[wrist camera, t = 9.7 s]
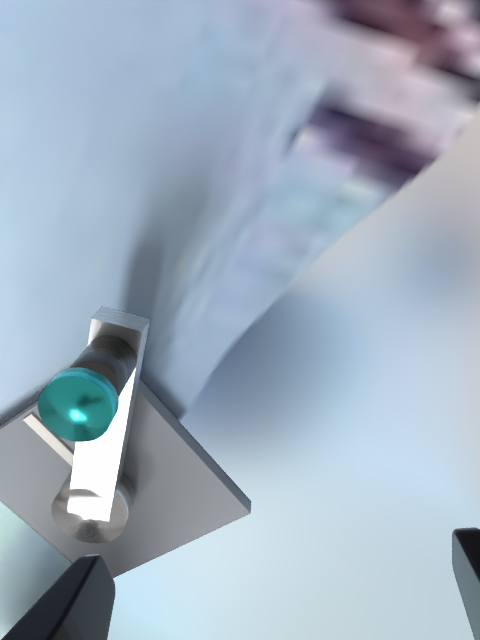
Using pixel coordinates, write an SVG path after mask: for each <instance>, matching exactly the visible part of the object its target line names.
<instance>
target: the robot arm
mask: <svg viewBox="0 0 480 640" xmlns="http://www.w3.org/2000/svg"><path fill="white" fill-rule="evenodd" d="M452 564H453V570H454V574H455V578H456V581H457V584H458V587H459V590H460V594H461V597H462V600H463V603H464V606H465V610H466V613H467V616H468V619H469V623H470V626H471V629H472V632H473V636H474V639H475V640H480V529H478V528H460V529H455V530H454V531H453V534H452ZM114 598H115V584H114V580H113V578H112V576H111V573H110V571H109V569H108V567H107V564H106V562H105V560H104V558H103V557H102V556H101V555H86V556H81V557H79V558H78V559H77V560H76V561H75V562H74V563H73V564H72V565H71V566H70V567H69V568H68V569H67V570H66V571H65V572H64V573H63V575H62V576H61V577H60V578H59V579H58V580H57V581H56V582H55V583H54V584H53V585H52V586H51V587H50V588H49V589H48V590H47V592H46V593H45V594H44V595H43V596H42V597H41V598H40V599H39V600H38V601H37V602H36V603H35V604H34V605H33V606H32V607H31V609H30V610H29V611H28V612H27V613H26V614H25V615H24V616H23V617H22V618H21V619H20V620H19V621H18V622H17V623H16V624H15V626H14V627H13V628H12V629H11V630H10V631H9V632H8V633H7V634H6V635H5V636H4V637H3V638H2V639H1V640H107V637H108V631H109V626H110V620H111V615H112V609H113V604H114Z"/></svg>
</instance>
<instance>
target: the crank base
mask: <svg viewBox="0 0 480 640" xmlns="http://www.w3.org/2000/svg"><path fill="white" fill-rule="evenodd" d="M75 447H76V442H74V441H69V440H66V439H64V438H61V437H60V436H58V435H56V434H55V433H53V432H52V431H51V430H50V429H49V428H48V427H47V426H46V425H45V424H44V422H43V421H42V419H41V417H40V415H39V412H38V400H37V401H36V402H35V403H33V404H32V405H30V406H29V407H27V408H26V409H24V410H23V411H21V412H20V413H18V414H17V415H15V416H14V417H12V418H11V419H9V420H8V421H6V422H5V423H4V424H2V425H1V426H0V501H1V502H2V503H3V504H5V505H6V506H7V507H8V508H9V509H10V510H12V511H13V512H14V513H15V514H16V515H17V516H18V517H20V518H21V519H22V520H23V521H24V522H25V523H27V524H28V525H29V526H30V527H31V528H32V529H34V530H35V531H36V532H37V533H38V534H39V535H40V536H42V537H43V538H44V539H45V540H46V541H47V542H49V543H50V544H51V545H52V546H53V547H54V548H56V549H57V550H58V551H59V552H60V553H61V554H63V555H64V556H65V557H66V558H67V559H68V560H69V561H71V562H72V563H74V562H75V561H76V560H77V559H78V558H79V557H81V556H86V555H101V556H102V557H103V558H104V560H105V562H106V564H107V567H108V569H109V571H110V573H111V576H112V578H114V577H116V576H118V575H120V574H123V573H125V572H127V571H129V570H131V569H133V568H135V567H137V566H140V565H142V564H144V563H146V562H148V561H150V560H152V559H155V558H157V557H159V556H161V555H163V554H165V553H167V552H169V551H172V550H174V549H176V548H178V547H180V546H182V545H184V544H186V543H188V542H191V541H193V540H195V539H197V538H199V537H201V536H203V535H205V534H208V533H210V532H212V531H214V530H216V529H218V528H220V527H222V526H224V525H227V524H229V523H231V522H233V521H235V520H237V519H239V518H242V517H244V516H246V515H248V514H250V510H251V501H250V500H249V498H248V497H247V496H246V495H245V494H244V493H243V492H242V491H241V490H240V488H239V487H238V486H237V485H236V484H235V483H234V482H233V481H232V480H231V478H230V477H229V476H228V475H227V474H226V473H225V472H224V471H223V470H222V469H221V467H220V466H219V465H218V464H217V463H216V462H215V461H214V460H213V459H212V457H211V456H210V455H209V454H208V453H207V452H206V451H205V450H204V449H203V447H202V446H201V445H200V444H199V443H198V442H197V441H196V440H195V439H194V437H192V435H191V434H190V433H189V432H188V431H187V430H186V429H185V428H184V426H182V424H181V423H180V422H179V421H178V420H177V419H176V418H175V416H174V415H173V414H172V413H171V412H170V411H169V410H168V409H167V408H166V406H165V405H164V404H163V403H162V402H161V401H160V400H159V399H158V398H157V397H156V395H155V394H154V393H153V392H152V391H151V390H150V389H149V388H148V387H147V385H146V384H145V383H144V382H143V381H142V380H141V379H140V378H139V383H138V389H137V394H136V400H135V405H134V411H133V416H132V422H131V427H130V432H129V438H128V443H127V449H126V454H125V460H124V465H123V471H122V472H123V473H124V474H125V475H126V476H127V477H128V478H129V479H130V480H131V482H132V484H133V486H134V489H135V500H134V503H133V506H132V508H131V511H130V514H129V517H128V519H127V522H126V525H125V527H124V530H123V532H122V533H121V534H120V535H119V536H118V537H117V538H116V539H114V540H112V541H109V542H106V543H99V544H93V543H86V542H82V541H79V540H76V539H74V538H72V537H70V536H68V535H67V534H65V533H64V532H63V531H62V530H61V529H60V528H59V527H58V526H57V525H56V523H55V522H54V520H53V517H52V514H51V506H52V503H53V501H54V499H55V497H56V495H57V494H58V492H59V490H60V489H61V487H62V485H63V483H64V482H65V480H66V478H67V477H68V475H69V473H70V472H71V471H72V470H73V463H74V455H75Z"/></svg>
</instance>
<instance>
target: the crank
mask: <svg viewBox="0 0 480 640" xmlns="http://www.w3.org/2000/svg"><path fill="white" fill-rule="evenodd" d="M149 324H150V319H149V318H145V317H141V316H138V315H134V314H130V313H126V312H122V311H118V310H114V309H111V308H107V307H103V306H102V307H101V308H100V309H99V310H98V311H97V312H96V314H95V315H94V316H93V317H92V318H91V323H90V331H89V340H88V347H87V348H86V349H85V350H84V352H83V353H82V354H81V355H80V356H79V358H78V359H77V360H76V361H75V362H74V364H73V365H72V366H71V367H70V368H68V369H65V370H63V371H61V372H59V373H58V374H57V375H56V376H55V377H54V378H53V379H52V380H51V381H50V383H49V384H48V385H47V386H46V387H45V388H44V390H43V391H42V392H41V394H40V396H39V399H38V412H39V415H40V417H41V419H42V421H43V422H44V424H45V425H46V426H47V427H48V428H49V429H50V430H51V431H52V432H53V433H55V434H56V435H58V436H60V437H61V438H64V439H66V440H69V441H74V442H76V447H75V455H74V463H73V470H72V471H71V472H70V473H69V475H68V477H67V478H66V480H65V482H64V483H63V485H62V487H61V489H60V490H59V492H58V494H57V495H56V497H55V499H54V501H53V503H52V506H51V514H52V517H53V520H54V522H55V523H56V525H57V526H58V527H59V528H60V529H61V530H62V531H63V532H64V533H65V534H67V535H68V536H70V537H72V538H74V539H76V540H79V541H82V542H86V543H93V544H99V543H106V542H109V541H112V540H114V539H116V538H117V537H118V536H119V535H120V534H121V533H122V532H123V530H124V527H125V525H126V522H127V519H128V517H129V514H130V511H131V508H132V506H133V503H134V500H135V489H134V486H133V484H132V482H131V480H130V479H129V478H128V477H127V476H126V475H125V474H124V473H123V472H122V471H123V465H124V460H125V454H126V449H127V443H128V438H129V432H130V427H131V422H132V416H133V411H134V405H135V400H136V394H137V389H138V383H139V378H140V373H141V367H142V362H143V356H144V351H145V345H146V340H147V334H148V329H149Z"/></svg>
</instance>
